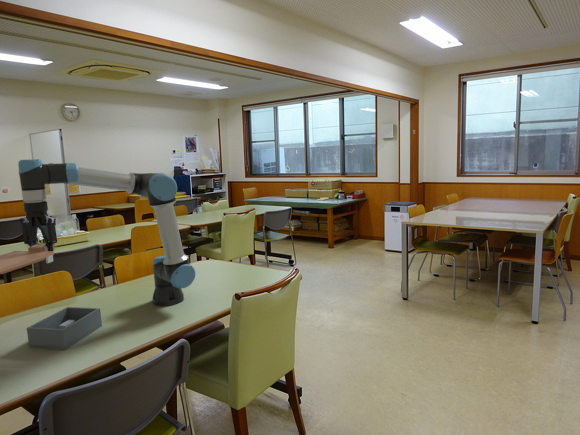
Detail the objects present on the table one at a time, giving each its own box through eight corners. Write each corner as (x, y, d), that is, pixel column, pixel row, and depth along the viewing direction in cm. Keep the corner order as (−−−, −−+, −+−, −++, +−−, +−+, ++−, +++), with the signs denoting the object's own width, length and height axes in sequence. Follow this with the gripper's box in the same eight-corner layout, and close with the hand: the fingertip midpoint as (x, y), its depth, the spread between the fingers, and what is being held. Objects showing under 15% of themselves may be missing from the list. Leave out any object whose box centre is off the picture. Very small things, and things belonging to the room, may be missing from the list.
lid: (68, 252, 158) (67, 243, 158) (-1, 276, 129) (-3, 265, 128) (31, 252, 161) (29, 243, 161) (-45, 275, 132) (-47, 264, 132)
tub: (102, 326, 178) (100, 308, 177) (65, 350, 157) (62, 330, 156) (69, 324, 182) (67, 306, 180) (29, 347, 160) (26, 328, 159)
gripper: (63, 199, 155) (71, 259, 159) (22, 200, 159) (31, 259, 162) (48, 202, 148) (56, 265, 151) (5, 202, 151) (15, 264, 155)
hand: (43, 262), depth 157 cm, fingers closed on lid, 5 cm apart
